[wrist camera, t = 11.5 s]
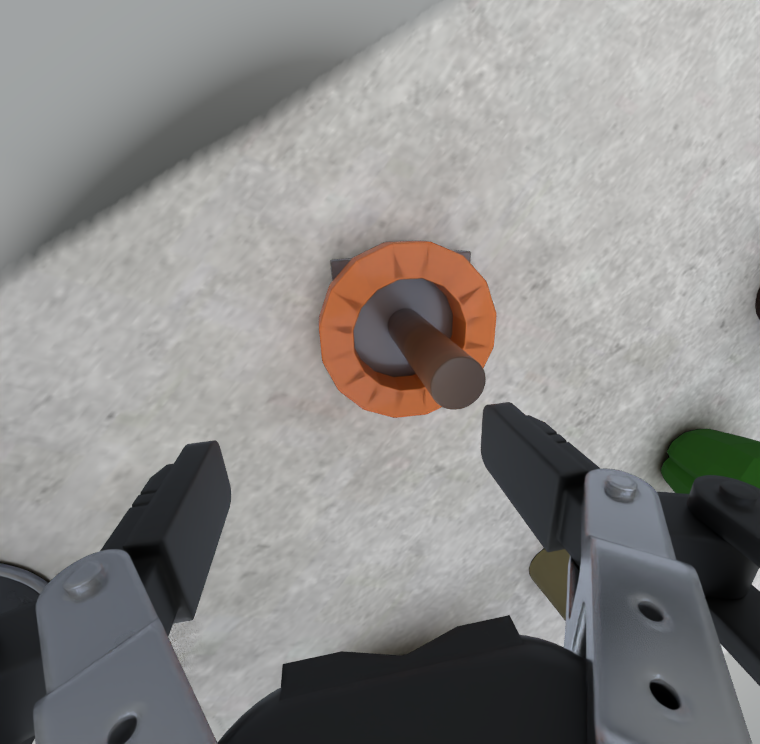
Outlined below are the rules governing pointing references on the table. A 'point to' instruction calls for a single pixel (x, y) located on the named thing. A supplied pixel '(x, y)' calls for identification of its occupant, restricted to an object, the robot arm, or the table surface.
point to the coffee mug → (758, 304)
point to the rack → (416, 339)
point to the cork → (552, 577)
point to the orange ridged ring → (376, 272)
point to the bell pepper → (711, 459)
